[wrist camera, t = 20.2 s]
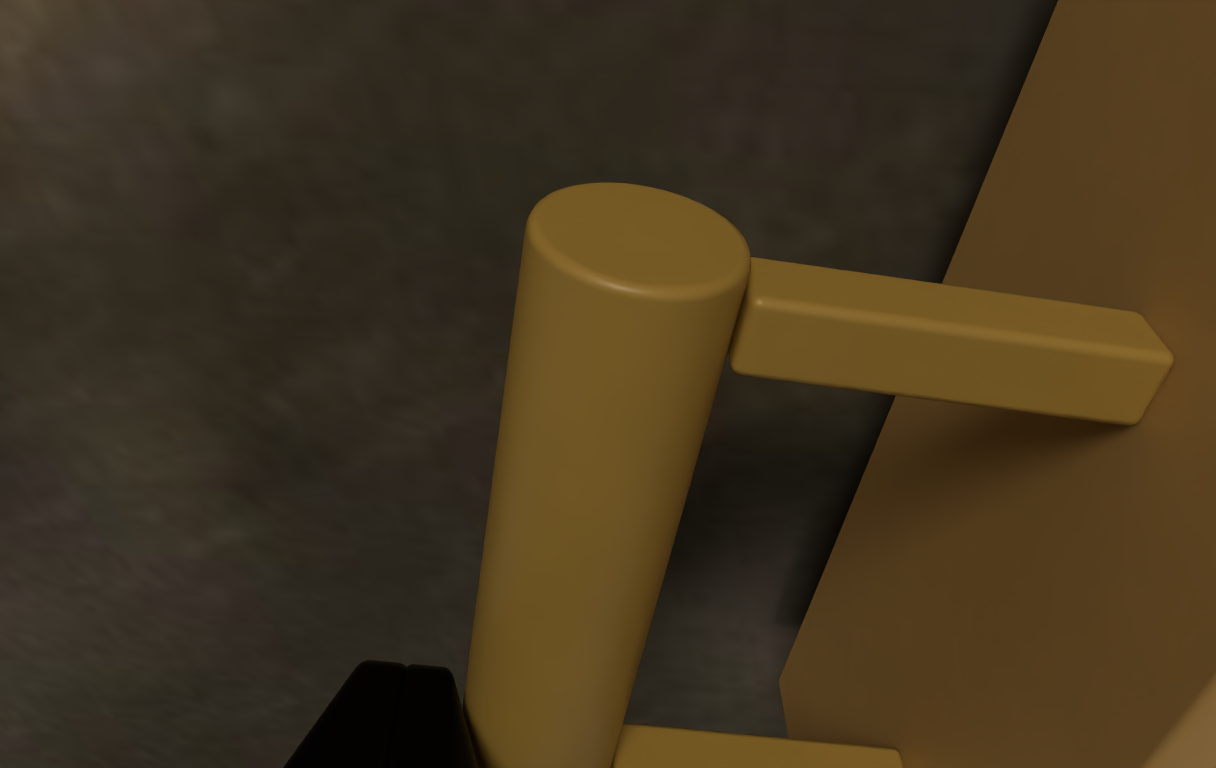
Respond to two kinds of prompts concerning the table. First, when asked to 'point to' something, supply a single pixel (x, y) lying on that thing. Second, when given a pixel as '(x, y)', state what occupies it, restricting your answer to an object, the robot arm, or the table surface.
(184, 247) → the table surface
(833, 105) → the table surface
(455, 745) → the robot arm
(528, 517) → the drawer
